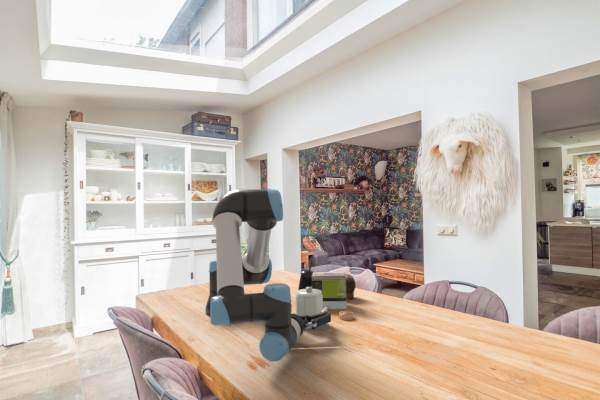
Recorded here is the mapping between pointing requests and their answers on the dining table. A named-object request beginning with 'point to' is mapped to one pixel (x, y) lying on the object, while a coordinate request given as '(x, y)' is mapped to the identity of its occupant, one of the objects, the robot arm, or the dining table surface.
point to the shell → (350, 287)
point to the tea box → (331, 288)
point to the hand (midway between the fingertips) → (308, 309)
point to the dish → (346, 315)
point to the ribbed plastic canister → (309, 302)
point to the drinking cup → (306, 278)
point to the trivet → (319, 328)
